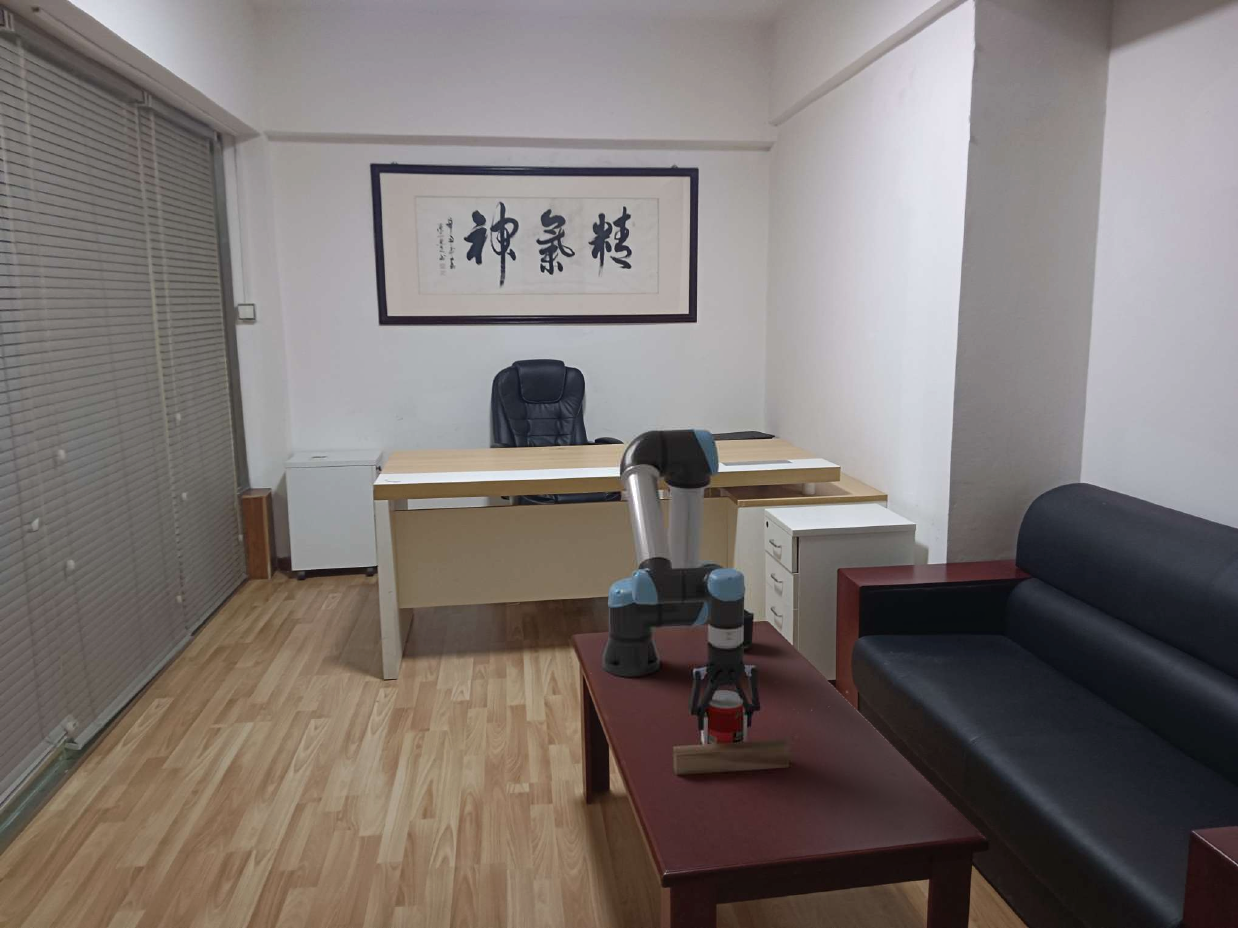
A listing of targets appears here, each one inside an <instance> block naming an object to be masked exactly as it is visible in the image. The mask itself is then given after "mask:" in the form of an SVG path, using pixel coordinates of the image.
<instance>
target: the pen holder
mask: <svg viewBox="0 0 1238 928" xmlns="http://www.w3.org/2000/svg"><path fill="white" fill-rule="evenodd" d="M754 615H755V614H754V612H750V611H748V610H746V609H745V608H744V624H743V642H742V644H743V653H744V652H747V651H749V650H751V648H752V645H753V635H754V634H753V633H754V620H755V619H754V617H755V616H754Z"/></svg>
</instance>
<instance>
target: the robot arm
mask: <svg viewBox="0 0 1238 928" xmlns="http://www.w3.org/2000/svg"><path fill="white" fill-rule="evenodd" d="M719 463H720V462H719V454H718V449H717V443H716V441H715V438H714V435H713V434H712V433H711V432H710V431H709V430H707V429H695V428H691V429H669V430H667V429H666V430H665V429H663V430H657V429H656V430H648V431H645V432H642V433H641V434H639V435H638V436H637V437H635V438H634V439H632V441H631V442H630V443H629V444H628V446H627V447H626V449H625V450H624V452H623V455H622V458H621V460H620V463H619V464H620V466H619V477H620V483H621V485H622V487H624V488H625V490H626V495H627V502H628V508H629V509H628V510H629V514H630V515H629V516H630V521H631V529H632V535H633V542H634V548H635V555H636V560H637V568H638V569H637V570H634V571H632V573H631V576H630V577H626V578H623V579H619V580H617V581H616V582H615V583H613V584H612V585H611V586H610V588H609V590H608V602H607V605H608V639H607V643H606V646H605V649H604V652H603V655H602V667H603V669H604V670H605V671H606V672H607V673H609V674H612V675H615V676H619V677H630V678H631V677H633V678H635V677H643V676H647V675H650V674H653V673H654V672H656V671H658V669H659V668H660V656H659V652H658V650H657V646H656V644H655V641H654V640H655V639H653V638H654V637H653V636H654V635H653V633H654V629H660V628H661V629H662V628H681V627H687V628H690V627H694V626H702V625H704V624H705V623H706V622H707V641H708V643H707V662H706V664H705V666H704V667H701V668H700V667H699V668H698V667H696V666H695V667H693V668H692V673H693V681H692V686H691V692H690V698H689V702H688V710H689V712H690V715H691V716H696V726H697V727H696V728H698V731H701V732H700V733H701V735H700V736H701V738H700V740H701V743H702V745H704V744H707V740H708V717H707V715H706V711H707V709H708V706H709V701H711V700H712V698H713V695H714V693H715V691H718V689H719V686H734V688H735V690H736V693H738V695H739V697H740V699H743V735H742V742H748V740H747V737H748V735H747V734H748V728H751V726H752V719H753V718H752V716H754V712H759V711H761V703H760V697H759V690H758V689H759V688H758V683H757V675H758V669H757V667H756V665H755V664H753V663H750V664H749V665H748V664H744V652H743V644H742V642H743V624H744V609H745V594H746V585H745V576H744V574H743V573H742V572H741V571H740V570H737V569H734V568H726V567H723V566H721V565H720V564H719V563H717V562H715V561H706V562H703V563H701V560H702V559H701V555H702V554H701V553H702V552H701V551H702V536H703V535H702V534H703V517H704V516H703V515H704V514H703V513H704V495H705V489H706V488H708V487H709V486H710V485H711V479H712V478H711V477H715V476H717V475H718V474H719V469H720V465H719ZM661 478H664V483H665V485H666V486H668V488H669V505H668V506H669V509H668V514H669V515H668V536H667V531H666V526H665V524H666V523H665V519H664V513H663V507H662V502H661V497H660V492H659V485H658V483H659V481H660V479H661ZM744 673H745V674H746V676H747V680H748V686H749V687H748V688H749V693H750V700H751V703H750V702H749V701H748V698H747V696H746V694H745V692H744V689H743V687H742V684H741V682H740V680H739V679H740V678H741V677H742V675H743V674H744ZM706 674H707V675H708V676H709V679H708V682H707V686H706V688H705V690H704V692H703V694H702V697H701V699H700V694H701V689H702V684H703V683H702V681H703V680H704V678H705V675H706ZM699 699H700V701H699Z"/></svg>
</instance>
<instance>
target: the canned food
mask: <svg viewBox="0 0 1238 928" xmlns="http://www.w3.org/2000/svg"><path fill="white" fill-rule="evenodd" d="M743 710H744V707H743V699H740V697H739V695H738V693H737V691H736V692H735V691H732V690H723V689H719V690H718V689H717V690H716V691H715V693H714V695H713V698H712V700H711V701H709V706H708V709H707V711H706V715H707V717H708V740H707V744H719V743H734V742H742V735H743Z"/></svg>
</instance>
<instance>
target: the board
mask: <svg viewBox="0 0 1238 928" xmlns="http://www.w3.org/2000/svg"><path fill="white" fill-rule="evenodd" d="M790 748H791V747H790V745H789V744H788V743H787V741H786V739H783V738H781V739H768V740H767V739H766V740H753V741H751V740H750V741H747V742H734V743H719V744H704V745H703V744H692V745H677V746H675V745H674V746H672V768H673V770H674V773H675V775H676V776H680V775H694V774H695V775H699V774H711V773H723V772H724V773H725V772H726V773H727V772H737V771H738V772H739V771H752V770H767V769H782V768H783V769H784V768H789V767H790Z"/></svg>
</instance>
